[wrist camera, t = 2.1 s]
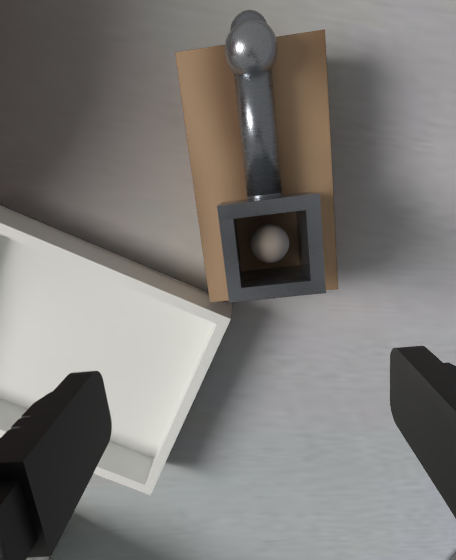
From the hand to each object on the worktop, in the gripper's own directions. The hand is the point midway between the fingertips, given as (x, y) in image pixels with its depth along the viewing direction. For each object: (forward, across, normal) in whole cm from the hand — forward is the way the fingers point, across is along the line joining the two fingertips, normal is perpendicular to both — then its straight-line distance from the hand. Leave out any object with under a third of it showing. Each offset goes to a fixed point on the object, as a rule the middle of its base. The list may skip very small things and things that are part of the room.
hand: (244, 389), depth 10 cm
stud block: (+21, -2, -6) cm, 22 cm away
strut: (+16, -2, -7) cm, 17 cm away
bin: (+21, +15, +7) cm, 27 cm away
